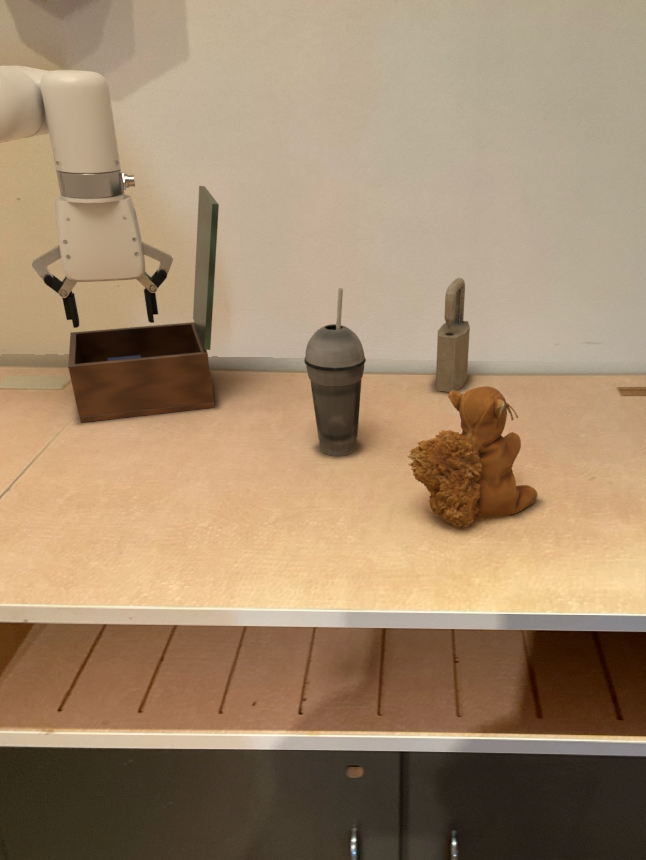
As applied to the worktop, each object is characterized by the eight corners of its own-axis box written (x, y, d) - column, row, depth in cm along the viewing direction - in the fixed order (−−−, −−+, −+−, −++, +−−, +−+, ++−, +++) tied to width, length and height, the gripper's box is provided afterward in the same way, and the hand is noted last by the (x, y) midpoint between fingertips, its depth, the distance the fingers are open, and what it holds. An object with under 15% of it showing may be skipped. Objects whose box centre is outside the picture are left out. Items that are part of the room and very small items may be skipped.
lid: (212, 203, 97) (218, 204, 97) (199, 185, 108) (205, 186, 109) (204, 349, 106) (210, 350, 106) (192, 318, 117) (198, 319, 118)
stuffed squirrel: (542, 499, 89) (555, 388, 82) (468, 550, 80) (475, 430, 73) (470, 472, 94) (477, 366, 87) (393, 517, 85) (393, 403, 78)
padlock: (431, 390, 116) (435, 287, 108) (445, 371, 123) (449, 273, 115) (457, 393, 116) (463, 289, 108) (470, 374, 122) (476, 275, 114)
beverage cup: (334, 431, 104) (328, 275, 93) (378, 445, 100) (377, 285, 90) (297, 450, 99) (286, 288, 88) (342, 466, 95) (336, 299, 85)
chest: (80, 422, 105) (68, 366, 101) (81, 384, 117) (70, 332, 113) (214, 407, 110) (207, 353, 106) (202, 372, 122) (196, 321, 118)
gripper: (161, 180, 104) (177, 310, 113) (17, 182, 99) (46, 318, 108) (165, 189, 98) (182, 326, 107) (13, 192, 93) (44, 335, 102)
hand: (114, 322), depth 107 cm, fingers open, 9 cm apart
